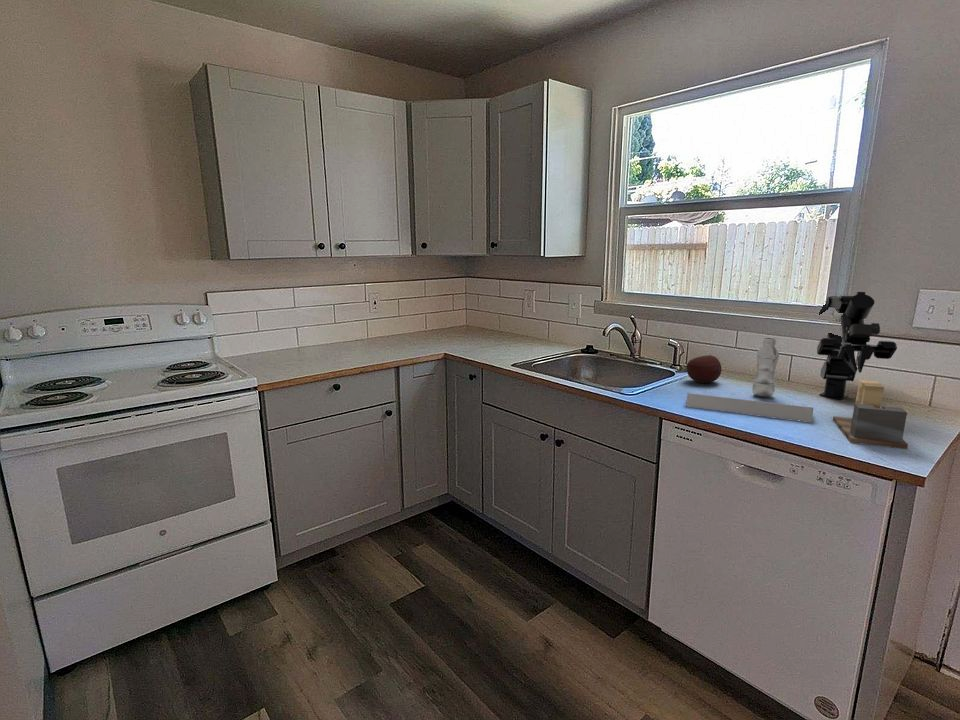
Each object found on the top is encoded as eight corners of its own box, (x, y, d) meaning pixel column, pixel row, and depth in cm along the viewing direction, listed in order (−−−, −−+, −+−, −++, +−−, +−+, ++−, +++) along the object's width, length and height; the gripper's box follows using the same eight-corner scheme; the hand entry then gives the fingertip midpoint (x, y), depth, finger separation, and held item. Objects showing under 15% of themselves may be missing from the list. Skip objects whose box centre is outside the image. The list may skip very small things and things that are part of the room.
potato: (678, 380, 193) (680, 354, 191) (707, 377, 196) (709, 351, 194) (698, 388, 182) (700, 360, 180) (728, 385, 186) (731, 357, 184)
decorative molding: (688, 407, 171) (685, 408, 162) (690, 393, 171) (687, 393, 162) (807, 422, 155) (811, 424, 146) (809, 407, 155) (813, 407, 146)
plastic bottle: (748, 393, 175) (755, 336, 171) (770, 394, 174) (777, 337, 170) (754, 398, 169) (761, 340, 165) (776, 399, 168) (784, 340, 163)
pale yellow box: (852, 420, 143) (859, 380, 141) (869, 422, 142) (876, 381, 139) (860, 429, 137) (867, 386, 134) (878, 431, 135) (885, 388, 132)
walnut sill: (832, 420, 148) (837, 389, 146) (882, 425, 143) (888, 394, 141) (850, 442, 131) (855, 408, 129) (907, 448, 127) (913, 414, 125)
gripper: (824, 311, 153) (827, 354, 146) (900, 314, 146) (908, 359, 139) (815, 333, 162) (818, 374, 154) (886, 336, 155) (893, 380, 147)
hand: (857, 371), depth 148 cm, fingers closed
